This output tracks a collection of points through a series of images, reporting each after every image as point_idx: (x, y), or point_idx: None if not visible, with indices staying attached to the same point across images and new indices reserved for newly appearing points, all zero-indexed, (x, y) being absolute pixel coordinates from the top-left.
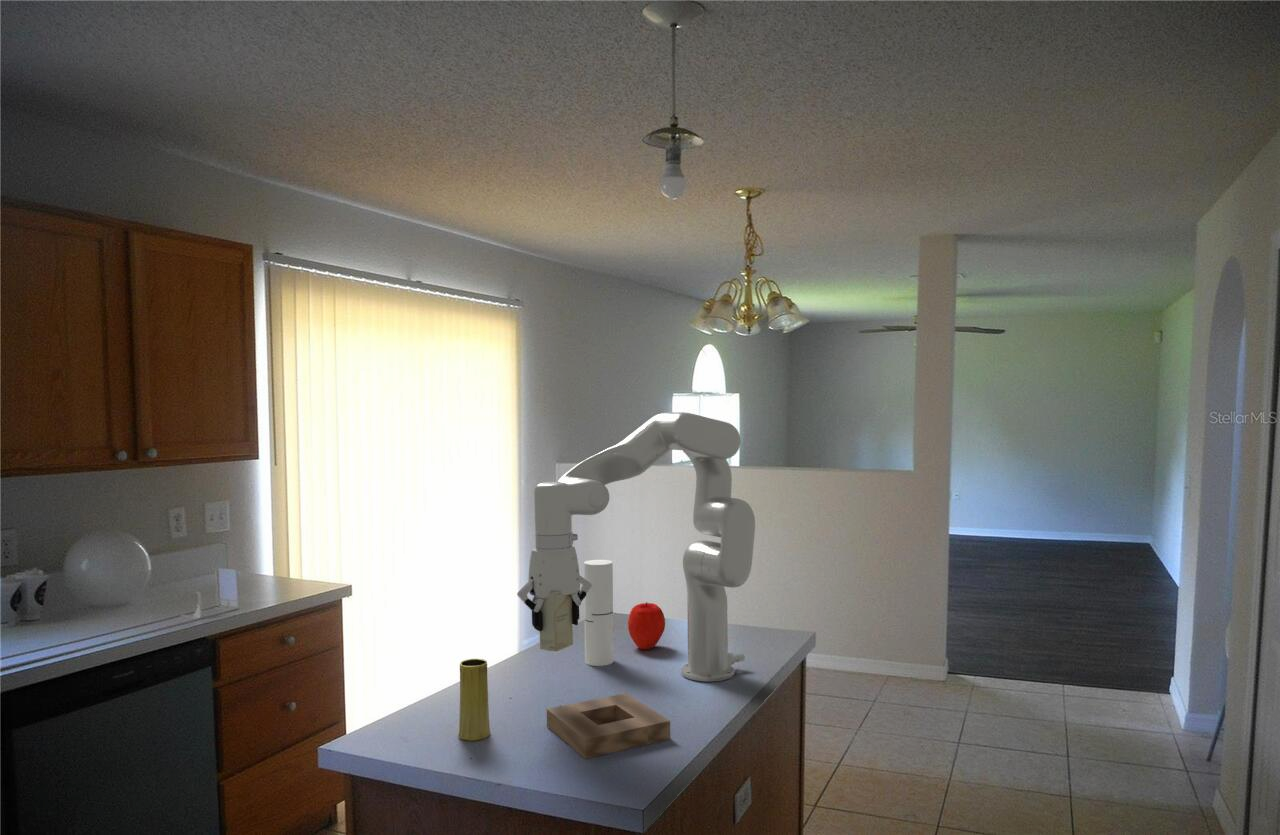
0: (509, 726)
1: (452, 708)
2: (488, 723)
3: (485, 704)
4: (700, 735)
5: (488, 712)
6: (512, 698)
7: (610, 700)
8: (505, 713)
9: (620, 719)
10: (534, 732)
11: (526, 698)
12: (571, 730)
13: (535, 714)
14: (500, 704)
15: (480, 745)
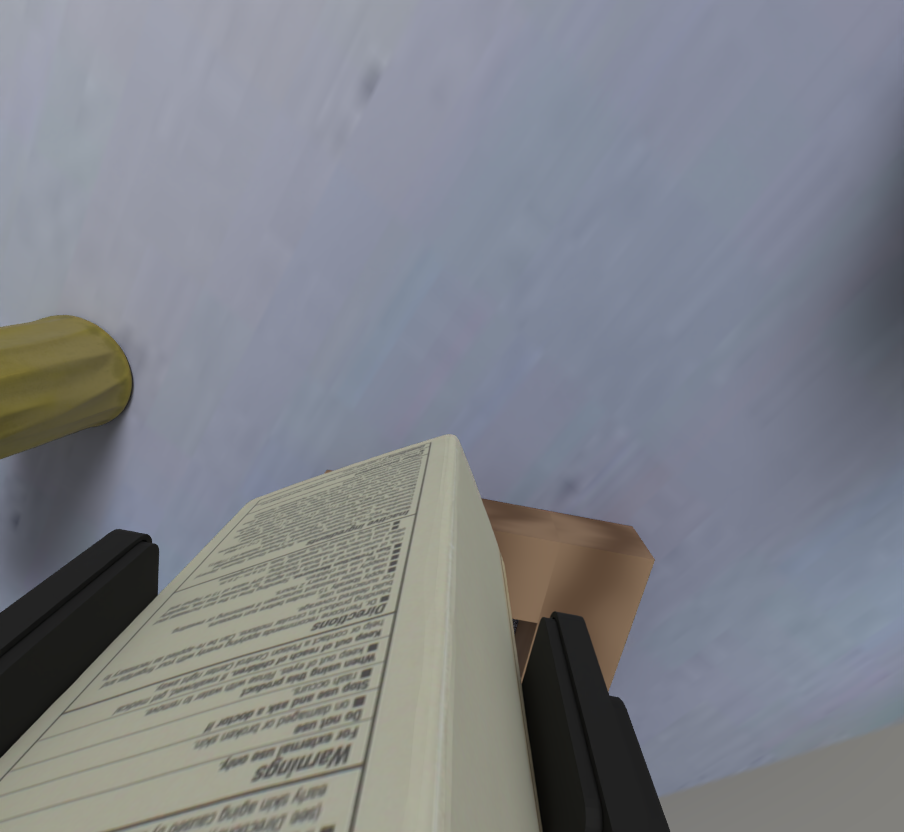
0: (218, 383)
1: (85, 18)
2: (94, 415)
3: (7, 456)
4: None
5: (63, 425)
6: (372, 98)
7: (553, 580)
8: (262, 252)
9: (523, 623)
10: (267, 484)
11: (422, 147)
12: None
13: (353, 345)
14: (291, 134)
15: (70, 460)
